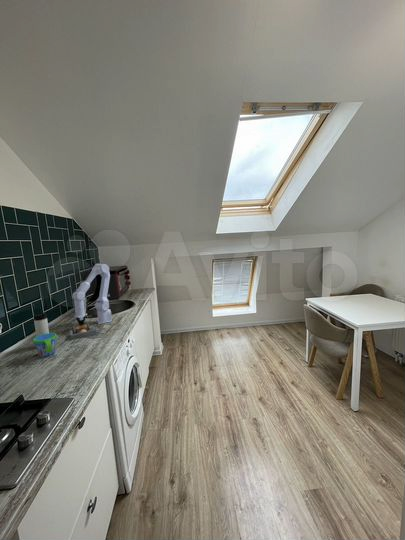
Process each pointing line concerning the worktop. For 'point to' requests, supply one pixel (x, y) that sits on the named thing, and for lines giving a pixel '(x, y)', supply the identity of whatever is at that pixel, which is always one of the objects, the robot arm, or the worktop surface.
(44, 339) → the snack cup
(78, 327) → the brown square block
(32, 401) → the worktop surface
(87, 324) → the rails
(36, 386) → the worktop surface
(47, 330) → the travel mug
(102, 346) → the worktop surface
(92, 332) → the tray
